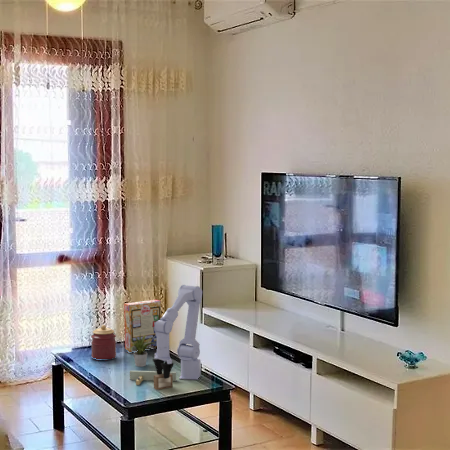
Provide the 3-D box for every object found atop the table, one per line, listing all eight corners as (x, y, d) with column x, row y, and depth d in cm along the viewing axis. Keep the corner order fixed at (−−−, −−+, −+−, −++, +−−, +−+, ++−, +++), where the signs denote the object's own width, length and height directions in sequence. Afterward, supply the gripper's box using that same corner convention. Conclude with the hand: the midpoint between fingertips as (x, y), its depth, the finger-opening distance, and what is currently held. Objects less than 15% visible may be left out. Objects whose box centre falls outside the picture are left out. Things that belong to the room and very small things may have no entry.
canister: (86, 357, 383) (86, 324, 382) (107, 353, 391) (107, 321, 390) (100, 362, 373) (99, 328, 372) (121, 358, 382) (120, 325, 381)
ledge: (176, 380, 341) (176, 371, 340) (172, 385, 331) (172, 377, 331) (130, 378, 343) (130, 370, 343) (125, 384, 333) (125, 376, 333)
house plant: (133, 371, 356) (133, 338, 355) (120, 365, 368) (119, 333, 367) (158, 366, 365) (158, 334, 364) (144, 360, 376) (144, 330, 375)
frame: (169, 385, 332) (169, 372, 332) (172, 387, 329) (172, 374, 329) (153, 388, 328) (153, 375, 328) (156, 390, 325) (156, 377, 325)
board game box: (156, 346, 408) (156, 299, 406) (162, 348, 403) (162, 300, 401) (124, 351, 396) (123, 302, 394) (129, 354, 391) (129, 304, 389)
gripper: (148, 344, 332) (148, 373, 333) (161, 350, 319) (161, 381, 320) (162, 342, 335) (162, 371, 336) (176, 349, 323) (176, 379, 323)
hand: (163, 376), depth 328 cm, fingers open, 7 cm apart
